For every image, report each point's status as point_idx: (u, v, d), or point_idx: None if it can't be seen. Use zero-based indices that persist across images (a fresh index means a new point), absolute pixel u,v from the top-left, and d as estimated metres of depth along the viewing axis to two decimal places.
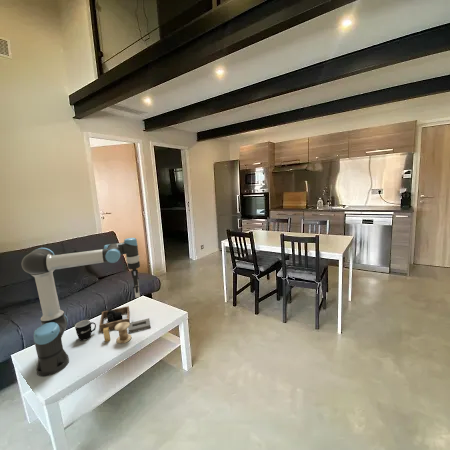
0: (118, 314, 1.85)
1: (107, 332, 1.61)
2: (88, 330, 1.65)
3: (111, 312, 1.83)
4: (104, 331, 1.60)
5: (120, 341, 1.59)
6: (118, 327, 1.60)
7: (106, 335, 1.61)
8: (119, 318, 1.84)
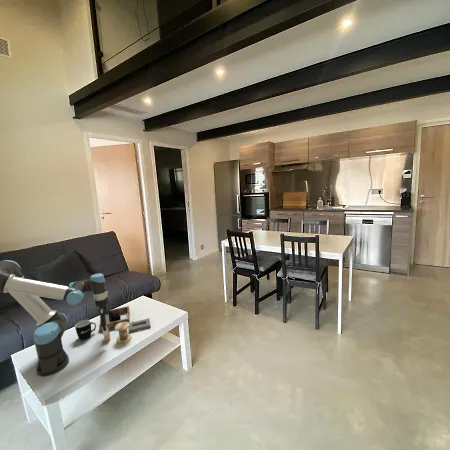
0: (116, 315, 1.84)
1: None
2: (88, 330, 1.65)
3: (109, 313, 1.82)
4: None
5: (120, 341, 1.59)
6: (118, 327, 1.60)
7: (106, 335, 1.61)
8: (117, 319, 1.83)
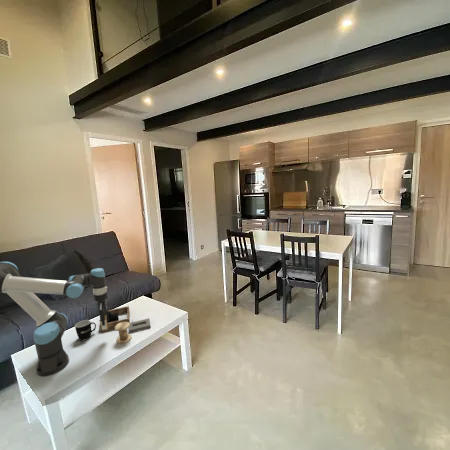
0: (114, 315, 1.83)
1: None
2: (88, 330, 1.65)
3: (107, 313, 1.82)
4: None
5: (120, 341, 1.59)
6: (118, 327, 1.60)
7: None
8: (115, 319, 1.83)
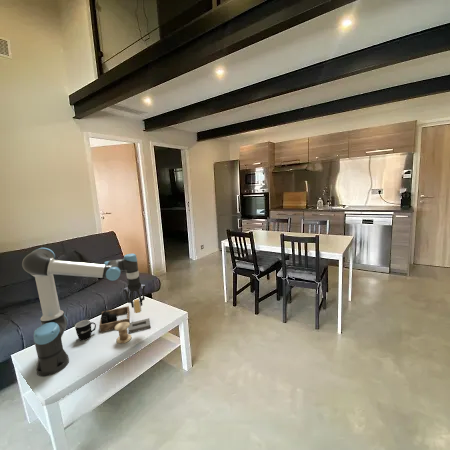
0: (112, 316, 1.82)
1: (134, 304, 1.66)
2: (88, 330, 1.65)
3: (105, 314, 1.81)
4: (134, 301, 1.67)
5: (120, 341, 1.59)
6: (118, 327, 1.60)
7: None
8: (113, 320, 1.82)
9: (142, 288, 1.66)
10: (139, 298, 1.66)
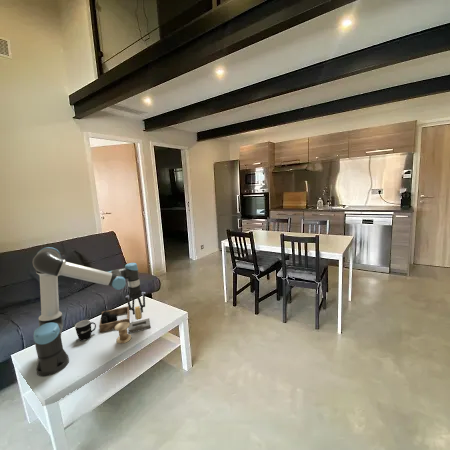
0: (112, 316, 1.82)
1: (135, 311, 1.73)
2: (88, 330, 1.65)
3: (105, 314, 1.81)
4: (135, 308, 1.74)
5: (120, 341, 1.59)
6: (118, 327, 1.60)
7: None
8: (113, 320, 1.82)
9: (143, 295, 1.74)
10: (140, 305, 1.73)
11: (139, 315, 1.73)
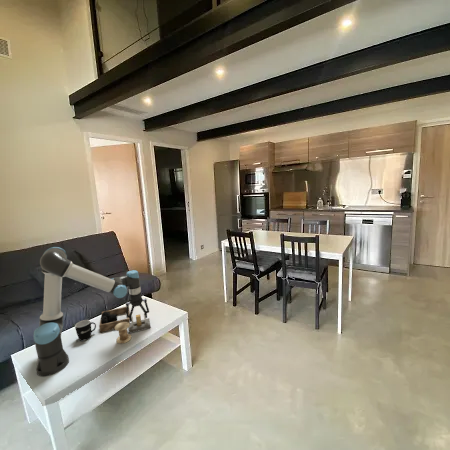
0: (112, 316, 1.82)
1: (136, 319, 1.74)
2: (88, 330, 1.65)
3: (105, 314, 1.81)
4: None
5: (120, 341, 1.59)
6: (118, 327, 1.60)
7: None
8: (113, 320, 1.81)
9: None
10: (143, 311, 1.75)
11: (140, 323, 1.74)
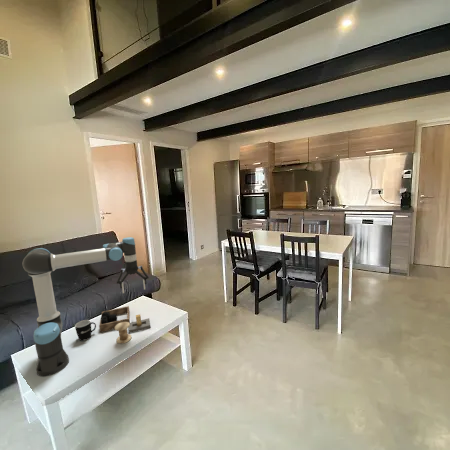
0: (112, 316, 1.82)
1: (136, 319, 1.74)
2: (88, 330, 1.65)
3: (105, 314, 1.80)
4: None
5: (120, 341, 1.59)
6: (118, 327, 1.60)
7: None
8: (113, 320, 1.81)
9: (141, 269, 1.71)
10: (142, 277, 1.72)
11: (140, 323, 1.74)
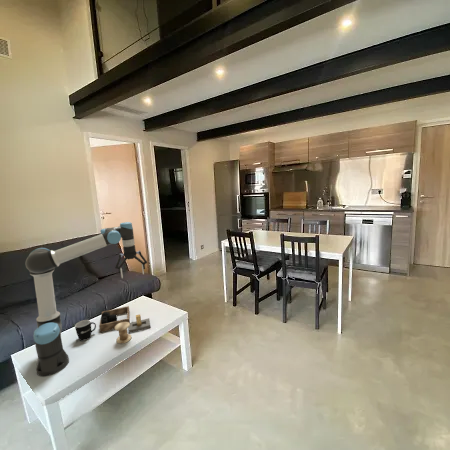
0: (112, 316, 1.82)
1: (136, 319, 1.74)
2: (88, 330, 1.65)
3: (105, 314, 1.80)
4: None
5: (120, 341, 1.59)
6: (118, 327, 1.60)
7: None
8: (113, 321, 1.81)
9: (139, 254, 1.71)
10: (141, 262, 1.72)
11: (140, 323, 1.74)
